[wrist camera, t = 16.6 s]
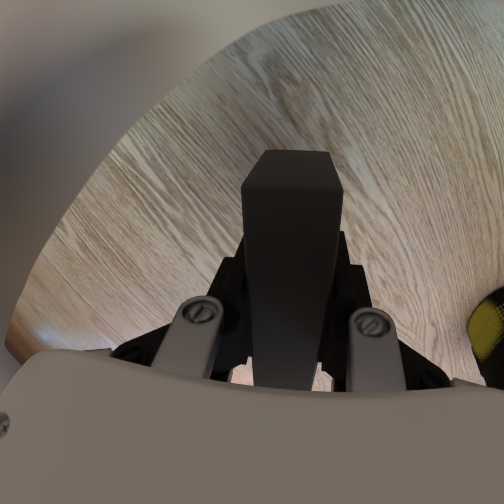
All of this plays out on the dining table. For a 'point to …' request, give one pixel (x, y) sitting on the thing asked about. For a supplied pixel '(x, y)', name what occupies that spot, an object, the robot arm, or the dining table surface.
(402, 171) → the dining table surface
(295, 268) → the knife
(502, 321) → the container
